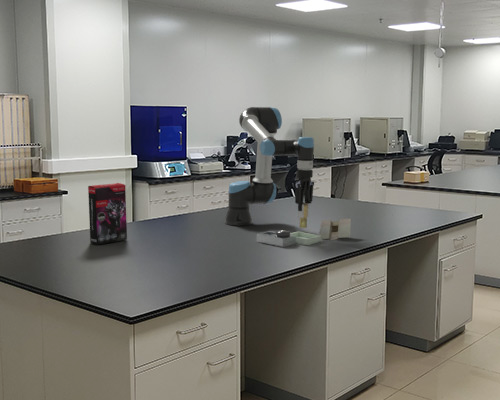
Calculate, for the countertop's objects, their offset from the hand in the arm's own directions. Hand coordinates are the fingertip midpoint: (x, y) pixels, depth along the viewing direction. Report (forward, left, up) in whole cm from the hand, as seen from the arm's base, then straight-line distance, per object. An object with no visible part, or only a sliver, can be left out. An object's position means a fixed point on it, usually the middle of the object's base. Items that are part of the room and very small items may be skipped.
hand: (303, 216), depth 297 cm
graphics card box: (-63, -69, -12) cm, 94 cm away
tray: (0, 0, -12) cm, 12 cm away
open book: (+6, +20, -13) cm, 24 cm away
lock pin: (0, 0, -5) cm, 5 cm away
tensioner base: (-7, -12, -12) cm, 18 cm away
